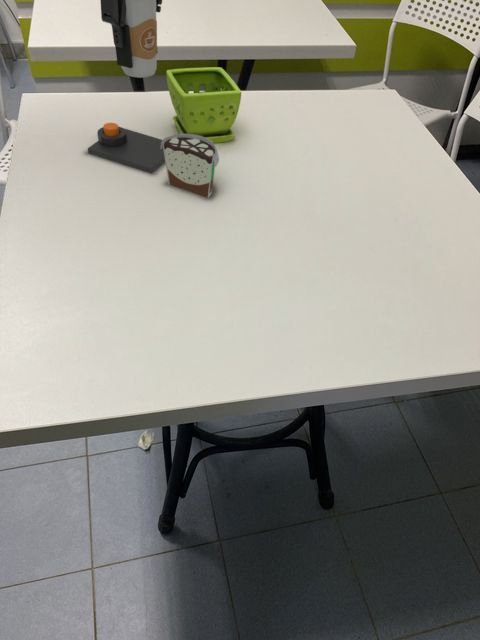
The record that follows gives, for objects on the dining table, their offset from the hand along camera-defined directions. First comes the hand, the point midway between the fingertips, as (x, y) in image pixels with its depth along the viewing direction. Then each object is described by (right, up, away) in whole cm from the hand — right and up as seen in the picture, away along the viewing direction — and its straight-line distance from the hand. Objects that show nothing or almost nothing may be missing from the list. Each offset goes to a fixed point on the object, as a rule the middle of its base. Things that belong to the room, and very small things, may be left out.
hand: (138, 58), depth 90 cm
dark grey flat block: (-6, -9, +21) cm, 23 cm away
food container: (+9, -19, +14) cm, 25 cm away
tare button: (-11, -5, +19) cm, 23 cm away
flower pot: (+9, -2, +29) cm, 30 cm away
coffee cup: (0, -2, +2) cm, 2 cm away
